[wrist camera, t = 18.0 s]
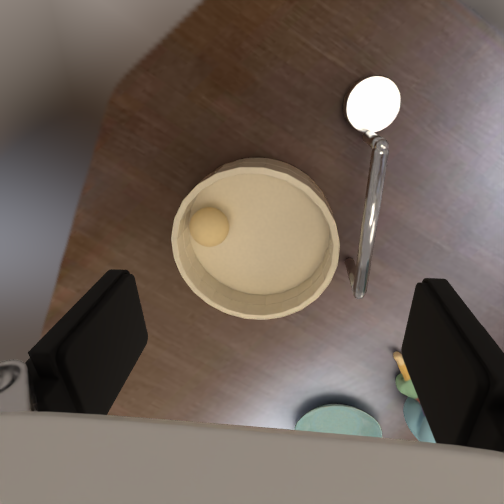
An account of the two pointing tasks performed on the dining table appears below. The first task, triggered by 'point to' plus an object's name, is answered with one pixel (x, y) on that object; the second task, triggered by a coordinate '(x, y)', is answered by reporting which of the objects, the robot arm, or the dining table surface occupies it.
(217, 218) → the tan ball
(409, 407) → the multicolor toy piece
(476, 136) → the dining table surface
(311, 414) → the saucer
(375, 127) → the ladle
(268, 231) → the bowl
